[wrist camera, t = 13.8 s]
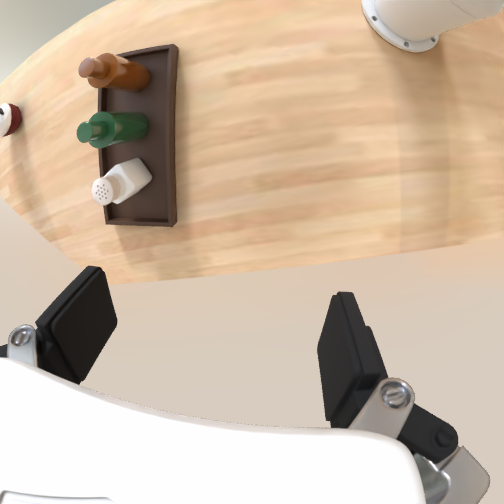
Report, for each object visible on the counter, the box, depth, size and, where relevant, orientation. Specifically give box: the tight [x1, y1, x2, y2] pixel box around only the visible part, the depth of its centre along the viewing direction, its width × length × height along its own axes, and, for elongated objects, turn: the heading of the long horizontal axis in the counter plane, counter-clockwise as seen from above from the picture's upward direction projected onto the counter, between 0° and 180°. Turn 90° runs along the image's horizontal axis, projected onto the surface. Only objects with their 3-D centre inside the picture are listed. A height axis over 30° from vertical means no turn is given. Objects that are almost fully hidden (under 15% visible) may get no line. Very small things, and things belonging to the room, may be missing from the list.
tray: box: [98, 44, 178, 227], centre depth 32 cm, size 25×11×2 cm, turn 177°
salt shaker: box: [92, 158, 152, 205], centre depth 31 cm, size 4×4×10 cm
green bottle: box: [77, 111, 149, 149], centre depth 26 cm, size 4×4×12 cm
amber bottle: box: [79, 53, 151, 93], centre depth 23 cm, size 4×4×12 cm
